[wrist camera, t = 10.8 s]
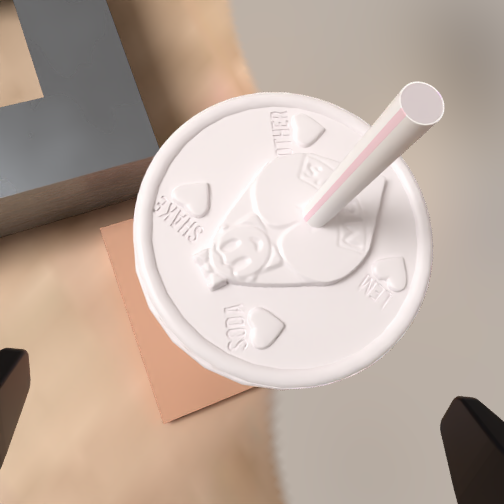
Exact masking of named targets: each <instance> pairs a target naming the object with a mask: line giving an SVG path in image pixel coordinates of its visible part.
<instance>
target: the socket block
mask: <svg viewBox="0 0 504 504" xmlns="http://www.w3.org/2000/svg"><path fill="white" fill-rule="evenodd" d="M13 2H14V5H15V8H16V11H17V14H18V17H19V20H20V23H21V27H22V30H23V33H24V36H25V39H26V42H27V45H28V48H29V51H30V55H31V58H32V61H33V64H34V67H35V70H36V73H37V76H38V79H39V83H40V86H41V89H42V92H43V95H44V98H39V99H35V100H31V101H27V102H22V103H18V104H14V105H9V106H5V107H1V108H0V237H3V236H6V235H9V234H13V233H16V232H20V231H23V230H27V229H30V228H33V227H37V226H40V225H44V224H47V223H50V222H54V221H57V220H61V219H64V218H67V217H71V216H74V215H78V214H81V213H85V212H88V211H91V210H95V209H98V208H102V207H105V206H108V205H112V204H115V203H119V202H122V201H125V200H129V199H132V198H136V197H137V196H138V193H139V189H140V186H141V183H142V181H143V178H144V176H145V174H146V171H147V169H148V167H149V165H150V164H151V162H152V160H153V158H154V156H155V155H156V154H157V152H158V151H159V146H158V143H157V141H156V138H155V135H154V132H153V130H152V127H151V124H150V121H149V118H148V116H147V113H146V110H145V107H144V105H143V102H142V99H141V96H140V93H139V91H138V88H137V85H136V82H135V80H134V77H133V74H132V71H131V68H130V66H129V63H128V60H127V57H126V55H125V52H124V49H123V46H122V43H121V41H120V38H119V35H118V32H117V30H116V27H115V24H114V21H113V18H112V16H111V13H110V10H109V7H108V5H107V2H106V0H13Z"/></svg>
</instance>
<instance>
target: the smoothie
mask: <svg viewBox="0 0 504 504" xmlns="http://www.w3.org/2000/svg"><path fill="white" fill-rule="evenodd" d="M443 113H444V102H443V99H442V97H441V95H440V93H439V92H438V91H437V90H436V89H435V88H434V87H432V86H431V85H429V84H427V83H424V82H412V83H409V84H407V85H406V86H405V87H404V88H403V89H402V90H401V91H400V92H399V94H398V95H397V96H396V97H395V98H394V100H393V101H392V102H391V103H390V104H389V106H388V107H387V108H386V110H385V111H384V112H383V113H382V114H381V115H380V117H379V118H378V119H377V120H376V121H375V123H374V124H373V125H372V126H371V125H369V124H368V123H366V122H365V121H364V120H362V119H361V118H359V117H357V116H356V115H354V114H352V113H351V112H349V111H347V110H345V109H343V108H341V107H339V106H337V105H334V104H332V103H329V102H327V101H324V100H321V99H317V98H314V97H310V96H305V95H300V94H293V93H285V92H265V93H254V94H248V95H243V96H239V97H235V98H231V99H228V100H225V101H223V102H220V103H217V104H215V105H213V106H211V107H209V108H207V109H205V110H203V111H201V112H200V113H198V114H197V115H195V116H193V117H192V118H191V119H189V120H188V121H187V122H185V123H184V124H183V125H181V126H180V127H179V128H178V129H177V130H176V131H175V132H174V133H173V134H172V135H171V136H170V137H169V138H168V139H167V141H166V142H165V143H164V144H163V145H162V147H161V148H160V149H159V151H158V152H157V154H156V155H155V156H154V158H153V160H152V162H151V164H150V165H149V167H148V169H147V171H146V174H145V176H144V178H143V181H142V183H141V186H140V189H139V193H138V196H137V201H136V206H135V211H134V222H133V243H134V254H135V269H136V273H137V276H138V279H139V282H140V284H141V287H142V290H143V293H144V296H145V299H146V301H147V304H148V307H149V309H150V311H151V312H152V313H153V315H154V316H155V318H156V319H157V321H158V322H159V323H160V325H161V326H162V328H163V329H164V330H165V332H166V333H167V335H168V336H169V338H170V339H171V340H172V342H173V343H174V344H176V345H177V346H178V347H179V348H181V349H182V350H183V351H184V352H185V353H187V354H188V355H189V356H190V357H192V358H193V359H194V360H195V361H196V362H198V363H199V364H200V365H201V366H203V367H204V368H205V369H208V370H210V371H212V372H214V373H217V374H219V375H221V376H224V377H226V378H228V379H230V380H233V381H235V382H237V383H239V384H242V385H248V386H255V387H262V388H269V389H276V390H288V389H300V388H312V387H317V386H323V385H328V384H331V383H334V382H337V381H341V380H343V379H346V378H348V377H351V376H353V375H355V374H357V373H359V372H361V371H363V370H364V369H366V368H368V367H369V366H371V365H372V364H374V363H375V362H377V361H378V360H379V359H381V358H382V357H383V356H384V355H386V354H387V353H388V352H389V351H390V350H391V349H392V348H393V347H394V346H395V345H396V344H397V343H398V342H399V341H400V339H401V338H402V337H403V336H404V334H405V333H406V332H407V330H408V329H409V328H410V326H411V324H412V323H413V321H414V319H415V318H416V316H417V314H418V312H419V310H420V307H421V305H422V303H423V301H424V298H425V295H426V292H427V289H428V285H429V280H430V275H431V269H432V261H433V239H432V229H431V223H430V217H429V214H428V210H427V206H426V203H425V200H424V197H423V194H422V192H421V190H420V188H419V185H418V183H417V181H416V179H415V177H414V175H413V174H412V172H411V170H410V168H409V167H408V165H407V164H406V162H405V161H404V160H403V158H402V157H401V155H402V154H403V153H404V152H405V151H406V150H407V149H408V148H409V147H410V146H411V145H413V144H414V143H415V142H416V141H417V140H418V139H419V138H420V137H421V136H422V135H423V134H424V133H426V132H427V131H428V130H429V129H430V128H431V127H432V126H433V125H434V124H435V123H436V122H438V121H439V120H440V119H441V117H442V115H443Z"/></svg>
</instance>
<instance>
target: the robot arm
mask: <svg viewBox="0 0 504 504" xmlns="http://www.w3.org/2000/svg"><path fill="white" fill-rule="evenodd" d="M29 388H30V367H29V356H28V353H27V351H26V350H24V349H14V348H4V349H2V350H0V469H1V467H2V464H3V462H4V459H5V456H6V454H7V451H8V448H9V445H10V442H11V439H12V437H13V434H14V431H15V428H16V425H17V423H18V420H19V417H20V414H21V411H22V408H23V406H24V403H25V400H26V397H27V394H28V391H29ZM440 430H441V435H442V440H443V444H444V448H445V453H446V457H447V461H448V466H449V470H450V474H451V479H452V483H453V487H454V491H455V495H456V499H457V502H458V504H504V422H503V421H502V420H501V419H500V418H499V417H498V416H497V415H495V414H494V413H493V412H492V411H491V410H490V409H488V408H487V407H486V406H485V405H484V404H482V403H481V402H480V401H479V400H477V399H475V398H472V397H463V396H458V397H456V398H455V399H454V400H453V401H452V403H451V405H450V407H449V408H448V410H447V411H446V413H445V415H444V417H443V418H442V420H441V425H440Z"/></svg>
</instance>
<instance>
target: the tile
mask: <svg viewBox="0 0 504 504" xmlns="http://www.w3.org/2000/svg"><path fill="white" fill-rule="evenodd" d="M133 222H134V218H132V219H129V220H125V221H122V222H119V223H115V224H112V225H109V226H105V227H102V228H100V231H101V234H102V237H103V240H104V243H105V246H106V249H107V252H108V255H109V258H110V261H111V264H112V267H113V270H114V273H115V277H116V280H117V283H118V286H119V289H120V292H121V295H122V298H123V301H124V304H125V307H126V310H127V313H128V316H129V319H130V322H131V326H132V329H133V332H134V335H135V338H136V341H137V344H138V347H139V350H140V353H141V356H142V359H143V362H144V365H145V368H146V372H147V375H148V378H149V381H150V384H151V387H152V390H153V393H154V396H155V399H156V402H157V405H158V408H159V411H160V414H161V418H162V421H163V424H165V423H167V422H170V421H172V420H175V419H177V418H180V417H182V416H184V415H187V414H189V413H192V412H194V411H197V410H199V409H201V408H204V407H206V406H209V405H211V404H214V403H216V402H219V401H221V400H223V399H226V398H228V397H231V396H233V395H236V394H238V393H240V392H243V391H245V390H248V389H250V388H253V387H255V386H248V385H242V384H239V383H237V382H235V381H233V380H230V379H228V378H226V377H224V376H221V375H219V374H217V373H214V372H212V371H210V370H208V369H205V368H204V367H203V366H201V365H200V364H199V363H198V362H196V361H195V360H194V359H193V358H192V357H190V356H189V355H188V354H187V353H185V352H184V351H183V350H182V349H181V348H179V347H178V346H177V345H176V344H174V343H173V342H172V340H171V339H170V338H169V336H168V335H167V333H166V332H165V330H164V329H163V328H162V326H161V325H160V323H159V322H158V321H157V319H156V318H155V316H154V315H153V313H152V312H151V311H150V309H149V307H148V304H147V301H146V299H145V296H144V293H143V290H142V287H141V284H140V282H139V279H138V276H137V273H136V269H135V254H134V243H133Z"/></svg>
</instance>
